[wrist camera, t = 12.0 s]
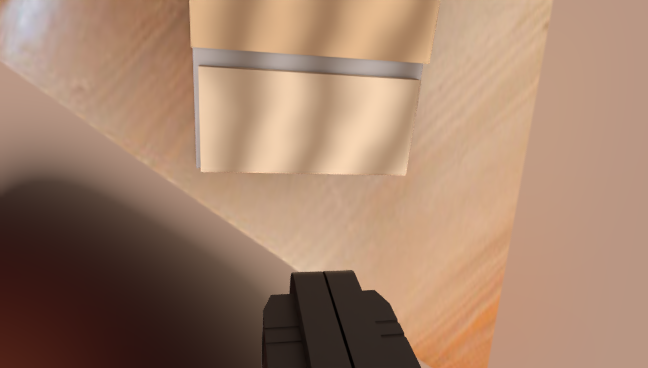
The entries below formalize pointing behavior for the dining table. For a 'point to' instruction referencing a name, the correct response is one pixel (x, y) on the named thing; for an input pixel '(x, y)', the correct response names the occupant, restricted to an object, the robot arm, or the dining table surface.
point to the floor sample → (312, 37)
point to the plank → (304, 121)
